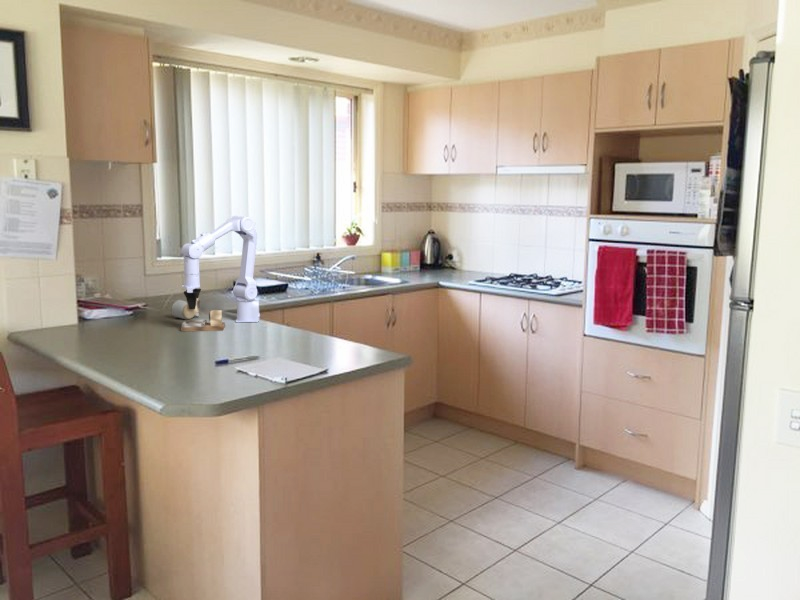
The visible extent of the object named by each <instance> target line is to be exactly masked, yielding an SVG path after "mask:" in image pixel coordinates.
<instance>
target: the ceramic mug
mask: <svg viewBox="0 0 800 600" xmlns="http://www.w3.org/2000/svg"><path fill="white" fill-rule="evenodd" d="M171 313H172V315H173V316H174V317H175V318H178V319H181V320H182V319H184V320H193V318H194V317H197V318H199V316H200V313H199V312H198V313H197V314H187V300H183V299H176V301H174V302H173V304H172V305H171Z"/></svg>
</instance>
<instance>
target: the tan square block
mask: <svg viewBox="0 0 800 600" xmlns="http://www.w3.org/2000/svg"><path fill="white" fill-rule="evenodd" d="M186 302H187V301H186ZM200 308H201V300H200V299H199V297H198V298H197V299H196V307H195V309H189V306H188V302H187V314H197V313H199V312H200V311H199V309H200Z"/></svg>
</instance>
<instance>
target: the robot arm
mask: <svg viewBox="0 0 800 600" xmlns="http://www.w3.org/2000/svg"><path fill="white" fill-rule="evenodd" d="M230 232H234V233H236V234H238V235H239V237H240V238H242V240H243V241H242V251H241V262H240V270H239V277H237V279H236V280H235V285H234V287H233V289H232V293H233V296H234V297H235V299H236V319H235V323H259V322H258V321H260V317H261V313H260V300H259V299H256V298H257V296H258V289H257V282H256V280H255V279H254V272H255V271H254V270H255V264H256V263H255V262H256V253H257V251H256V250H257V243H258V233H257V231H256V222H255V221H254V219H252V218H251V217H250V216H238V215H234V216H233V215H232V217H230V218H227V220H226V221H225V222H223V223H221V225H219V226H218V227H216V228H215V229H214V230H213V231H211V232H210V233H209V232H202V233H200V234H199V235H200V236H199V237H197V238H195V239H192V240H191V242H190V243H188V242H187V243H184V244H183V246H182V247H181V250H180V254H181V256H182V257H183V258H182V259H183V271H184V284H182V285H181V288H185V289H186V290H185V291H183V294H184V297H185V298H186V302H188V306H189V309H195V307H196V299H197V298H198V299H199V297H200V293H201V291H202V289H201V284H200V281H201V280H200V279H201V278H200V275H201V274H200V258H201V256H203V253H204V252H205V251H207V250H208V249H210V248H211V247H213V246H214V245H215V242H216V241H217V240H219V238H221V237H223V236H225V235H226V234H229V233H230Z"/></svg>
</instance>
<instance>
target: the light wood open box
mask: <svg viewBox="0 0 800 600" xmlns="http://www.w3.org/2000/svg"><path fill="white" fill-rule="evenodd" d="M222 315H223V310H221V309H220V310H219V309H215V310H214V309H211V310H210V311H209V312H208V321H209V322H207V319H184V321H183V322H182V323H181V327H180V332H214V331H215V332H217V331H218V332H221V331H222V332H223V331H224V330H225V327H226V322H223V316H222Z"/></svg>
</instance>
